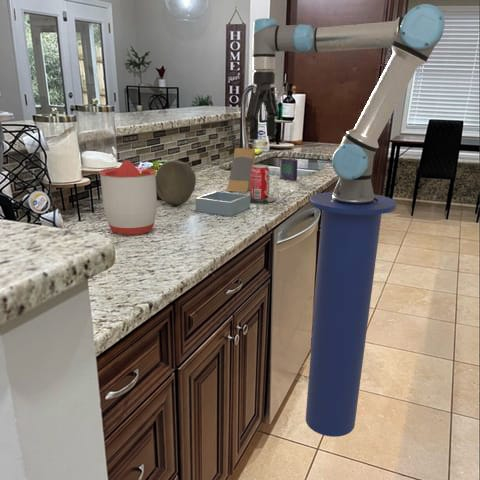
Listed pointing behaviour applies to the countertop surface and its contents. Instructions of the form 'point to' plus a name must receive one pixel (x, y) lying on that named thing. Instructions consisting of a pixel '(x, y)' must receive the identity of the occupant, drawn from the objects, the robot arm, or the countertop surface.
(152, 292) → the countertop surface
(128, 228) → the citrus juicer
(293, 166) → the dark purple green box
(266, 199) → the coaster
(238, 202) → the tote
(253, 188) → the soda can
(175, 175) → the cantaloupe
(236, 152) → the sandwich container
